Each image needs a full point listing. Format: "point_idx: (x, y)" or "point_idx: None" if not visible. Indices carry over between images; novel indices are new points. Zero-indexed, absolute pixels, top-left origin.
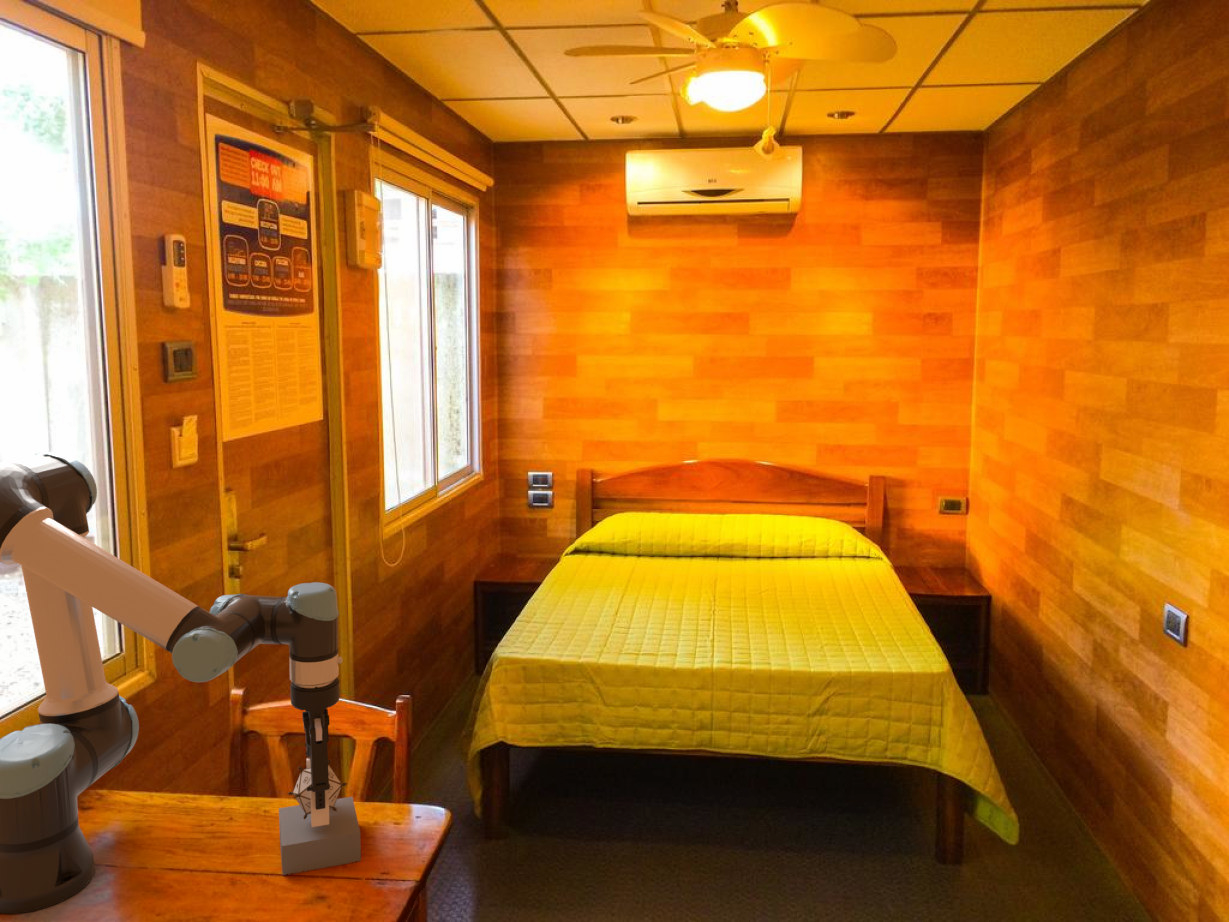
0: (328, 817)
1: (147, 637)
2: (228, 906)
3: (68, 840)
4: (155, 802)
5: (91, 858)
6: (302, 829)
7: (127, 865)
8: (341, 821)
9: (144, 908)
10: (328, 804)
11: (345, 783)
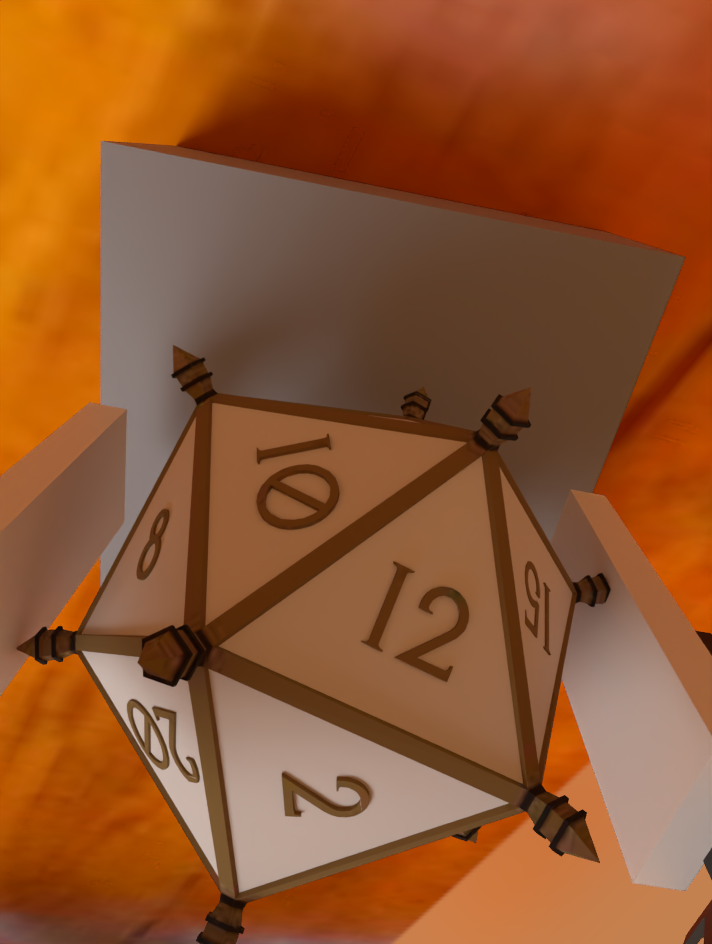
0: (621, 528)
1: None
2: (566, 753)
3: None
4: None
5: None
6: None
7: (160, 905)
8: (449, 338)
9: (421, 901)
10: (666, 596)
11: (520, 415)
